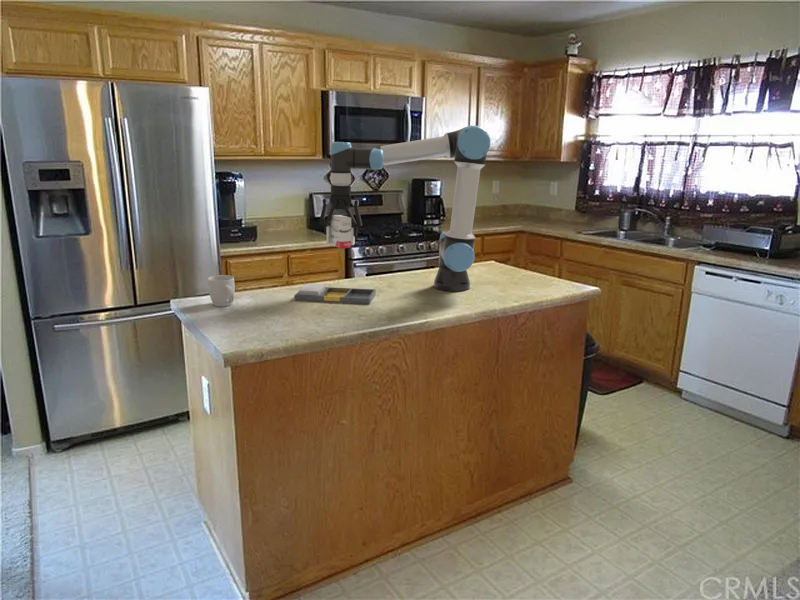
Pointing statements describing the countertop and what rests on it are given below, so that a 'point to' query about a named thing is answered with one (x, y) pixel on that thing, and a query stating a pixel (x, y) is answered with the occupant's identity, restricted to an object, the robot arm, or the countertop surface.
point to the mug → (221, 290)
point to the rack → (341, 296)
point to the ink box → (340, 231)
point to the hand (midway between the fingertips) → (340, 243)
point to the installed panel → (312, 289)
